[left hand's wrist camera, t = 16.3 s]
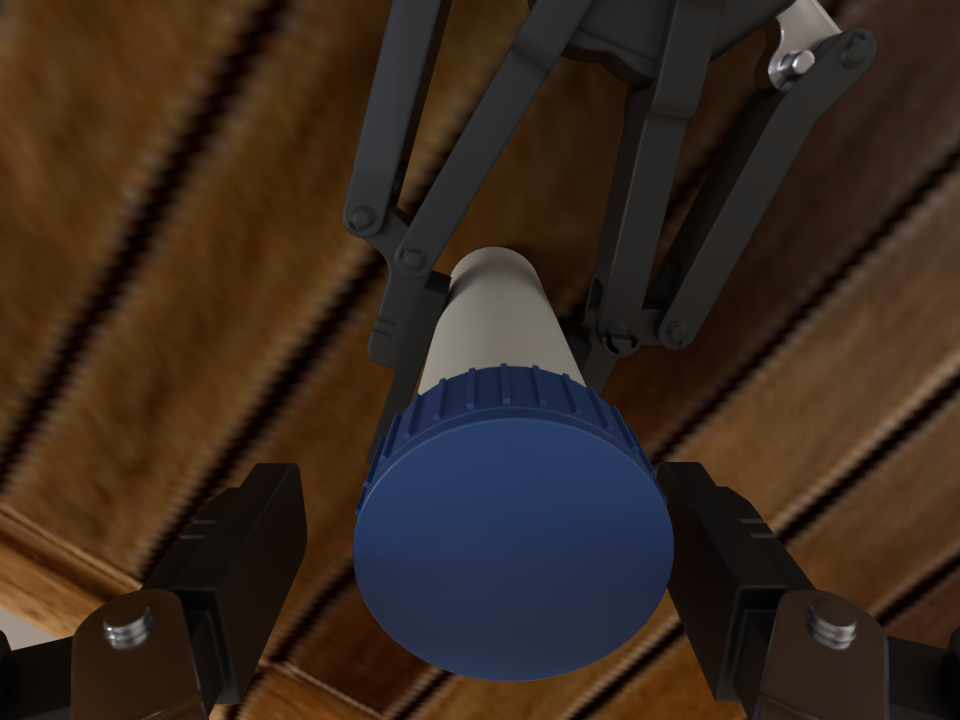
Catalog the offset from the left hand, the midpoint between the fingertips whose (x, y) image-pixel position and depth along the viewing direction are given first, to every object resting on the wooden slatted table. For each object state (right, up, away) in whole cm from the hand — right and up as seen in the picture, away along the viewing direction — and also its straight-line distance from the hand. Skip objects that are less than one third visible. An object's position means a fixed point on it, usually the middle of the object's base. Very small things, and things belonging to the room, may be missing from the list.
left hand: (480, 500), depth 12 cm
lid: (0, 0, -3) cm, 3 cm away
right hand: (-1, -1, +9) cm, 9 cm away
